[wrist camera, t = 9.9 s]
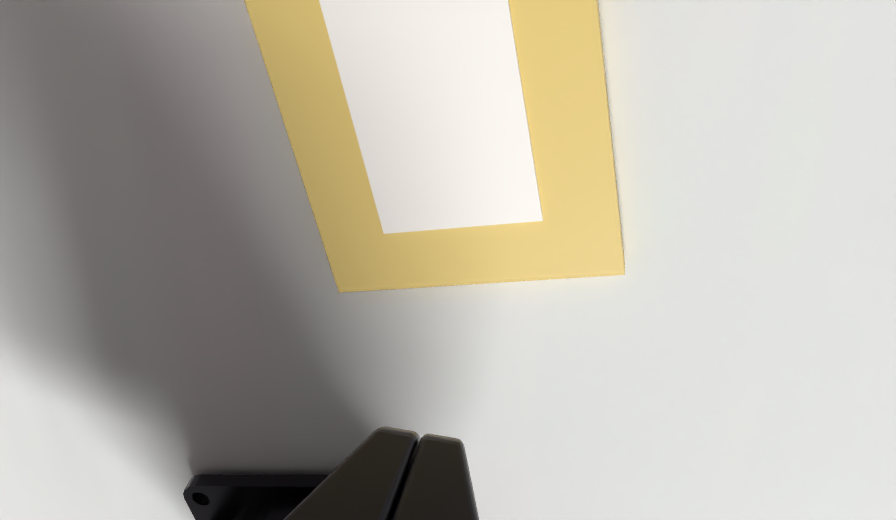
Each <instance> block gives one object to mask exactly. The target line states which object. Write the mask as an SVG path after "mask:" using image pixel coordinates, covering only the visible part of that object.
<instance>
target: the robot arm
mask: <svg viewBox="0 0 896 520" xmlns="http://www.w3.org/2000/svg"><path fill="white" fill-rule="evenodd" d="M183 495H184V499H185V501H186V502H187V504H188V506H189V508H190V510H191V512H192V514H193V516H194V518H195V520H479V517H478V512H477V507H476V502H475V497H474V492H473V487H472V482H471V477H470V472H469V467H468V463H467V458H466V453H465V448H464V444H463V443H462V441H461V440H460V439H457V438H451V437H445V436H439V435H433V434H426V435H424V436H423V437H422V438H421V439H420V437H419V435H418V434H417V433H416V432H414V431H409V430H403V429H397V428H391V427H381V428H378V429H377V430H375V431H374V432H373V433H372V434H371V435H370V436H369V437H368V438H367V439H366V440H365V441H364V442H363V443H362V444H361V445H360V446H359V447H358V448H357V449H356V450H355V451H354V452H353V453H352V454H350V455H349V456H348V457H347V458H346V459H345V460H344V461H343V462H342V463H341V464H340V465H339V466H338V467H337V468H336V469H335V470H334V471H333V472H332V473H331V474H330V475H196V476H194V477H193V478H191V480H190V481H189V483H188V485H187V486H186V488H185V490H184V493H183Z"/></svg>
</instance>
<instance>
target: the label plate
mask: <svg viewBox="0 0 896 520" xmlns="http://www.w3.org/2000/svg"><path fill="white" fill-rule="evenodd" d="M244 1H245V4H246V7H247V10H248V13H249V16H250V20H251V23H252V26H253V29H254V32H255V35H256V38H257V41H258V44H259V47H260V50H261V54H262V57H263V60H264V63H265V66H266V69H267V72H268V75H269V78H270V81H271V84H272V88H273V91H274V94H275V97H276V100H277V103H278V106H279V109H280V112H281V115H282V118H283V122H284V125H285V128H286V131H287V134H288V137H289V140H290V143H291V146H292V149H293V152H294V156H295V159H296V162H297V165H298V168H299V171H300V174H301V177H302V180H303V183H304V186H305V190H306V193H307V196H308V199H309V202H310V205H311V208H312V211H313V214H314V217H315V220H316V224H317V227H318V230H319V233H320V236H321V239H322V242H323V245H324V248H325V251H326V254H327V258H328V261H329V264H330V267H331V270H332V273H333V276H334V279H335V282H336V285H337V288H338V292H339V293H340V292H356V291H372V290H388V289H404V288H420V287H436V286H452V285H468V284H484V283H500V282H516V281H532V280H548V279H564V278H580V277H596V276H612V275H625V262H624V252H623V243H622V233H621V223H620V213H619V204H618V194H617V184H616V174H615V165H614V155H613V145H612V135H611V126H610V116H609V106H608V97H607V87H606V77H605V67H604V58H603V48H602V38H601V28H600V19H599V9H598V0H244Z"/></svg>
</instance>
